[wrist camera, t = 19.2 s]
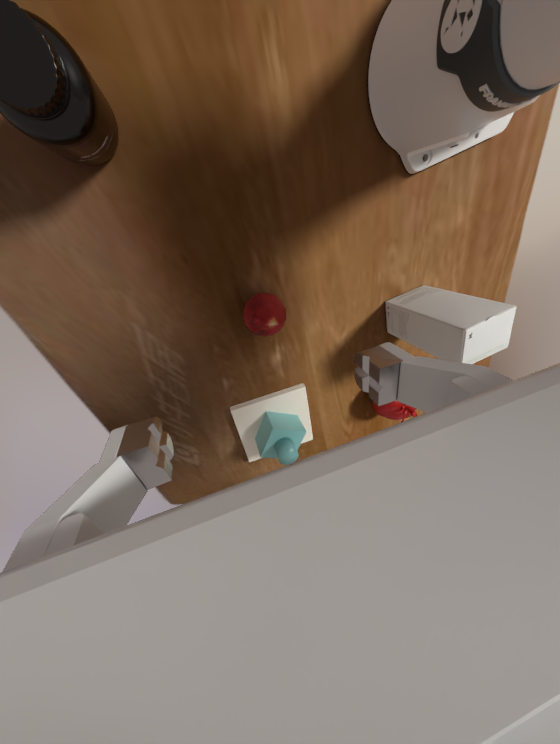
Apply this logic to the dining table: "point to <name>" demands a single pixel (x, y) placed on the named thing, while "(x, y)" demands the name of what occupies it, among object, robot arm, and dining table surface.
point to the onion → (264, 314)
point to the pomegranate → (395, 410)
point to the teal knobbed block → (280, 436)
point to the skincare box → (450, 323)
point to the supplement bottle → (52, 90)
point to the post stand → (280, 402)
